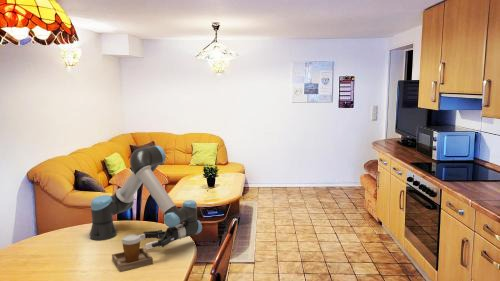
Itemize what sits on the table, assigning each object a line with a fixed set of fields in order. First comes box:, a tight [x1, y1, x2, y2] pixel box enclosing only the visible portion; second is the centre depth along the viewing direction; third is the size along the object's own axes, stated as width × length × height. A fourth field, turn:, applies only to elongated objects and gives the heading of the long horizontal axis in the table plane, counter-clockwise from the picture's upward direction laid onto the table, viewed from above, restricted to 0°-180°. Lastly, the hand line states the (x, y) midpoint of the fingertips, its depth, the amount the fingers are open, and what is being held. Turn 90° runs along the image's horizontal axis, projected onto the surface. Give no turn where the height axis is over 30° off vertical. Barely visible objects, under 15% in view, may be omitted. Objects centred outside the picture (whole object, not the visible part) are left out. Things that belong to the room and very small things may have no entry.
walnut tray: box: [111, 247, 154, 273], centre depth 204 cm, size 16×16×3 cm
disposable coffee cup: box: [121, 233, 142, 263], centre depth 204 cm, size 10×10×12 cm
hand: (139, 243), depth 205 cm, fingers open, 13 cm apart
